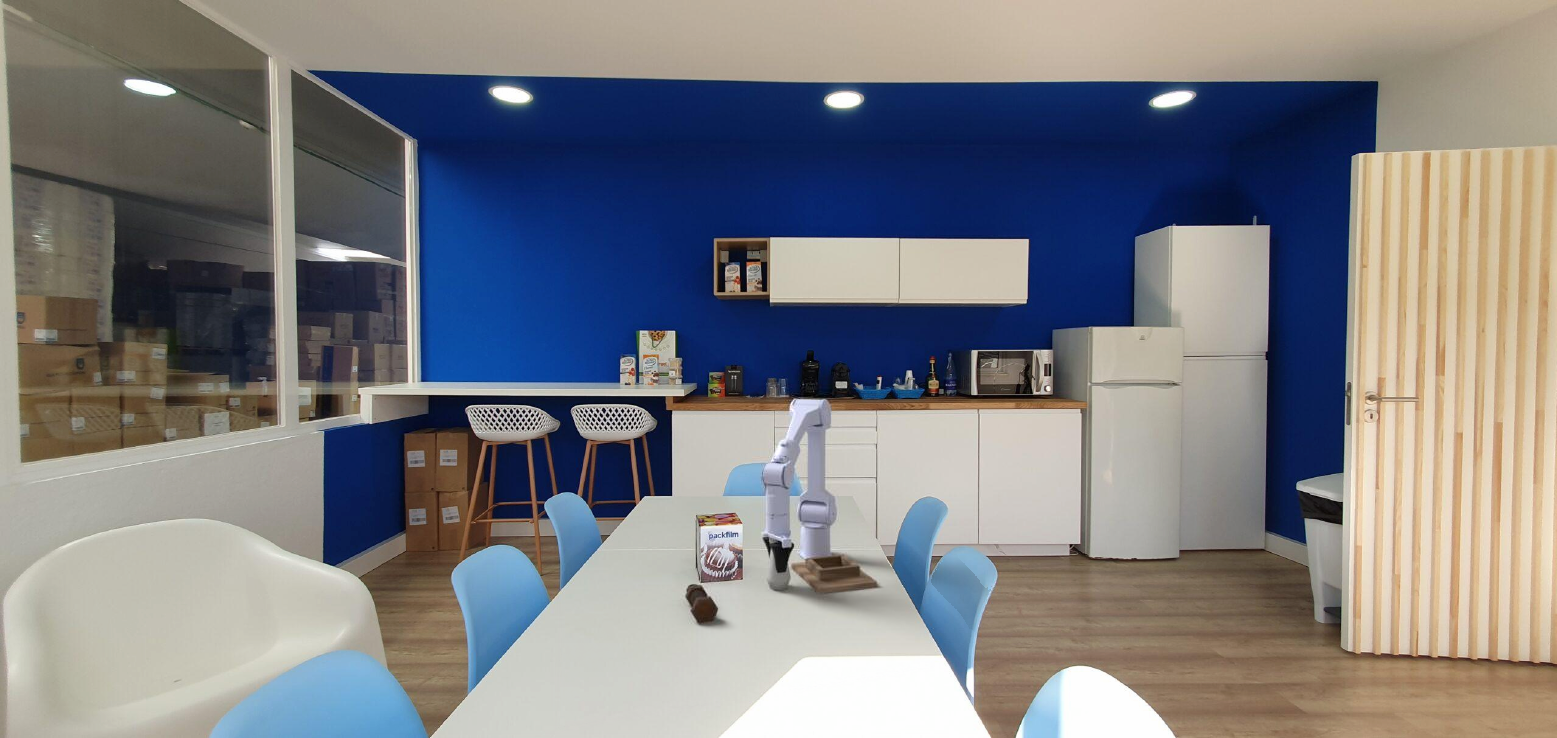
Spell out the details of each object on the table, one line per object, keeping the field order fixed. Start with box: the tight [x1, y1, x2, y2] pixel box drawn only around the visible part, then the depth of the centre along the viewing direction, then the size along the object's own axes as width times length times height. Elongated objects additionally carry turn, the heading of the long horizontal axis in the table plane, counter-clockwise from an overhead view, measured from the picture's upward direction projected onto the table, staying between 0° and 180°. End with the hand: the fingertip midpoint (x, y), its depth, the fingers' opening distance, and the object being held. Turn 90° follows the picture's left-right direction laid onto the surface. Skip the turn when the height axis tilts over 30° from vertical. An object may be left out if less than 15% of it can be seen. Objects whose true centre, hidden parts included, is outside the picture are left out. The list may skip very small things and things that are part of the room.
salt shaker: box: [765, 537, 792, 591], centre depth 164 cm, size 6×6×13 cm
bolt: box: [684, 583, 719, 624], centre depth 151 cm, size 6×5×15 cm
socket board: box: [790, 554, 878, 595], centre depth 172 cm, size 20×15×4 cm
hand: (778, 569), depth 164 cm, fingers closed on salt shaker, 4 cm apart
